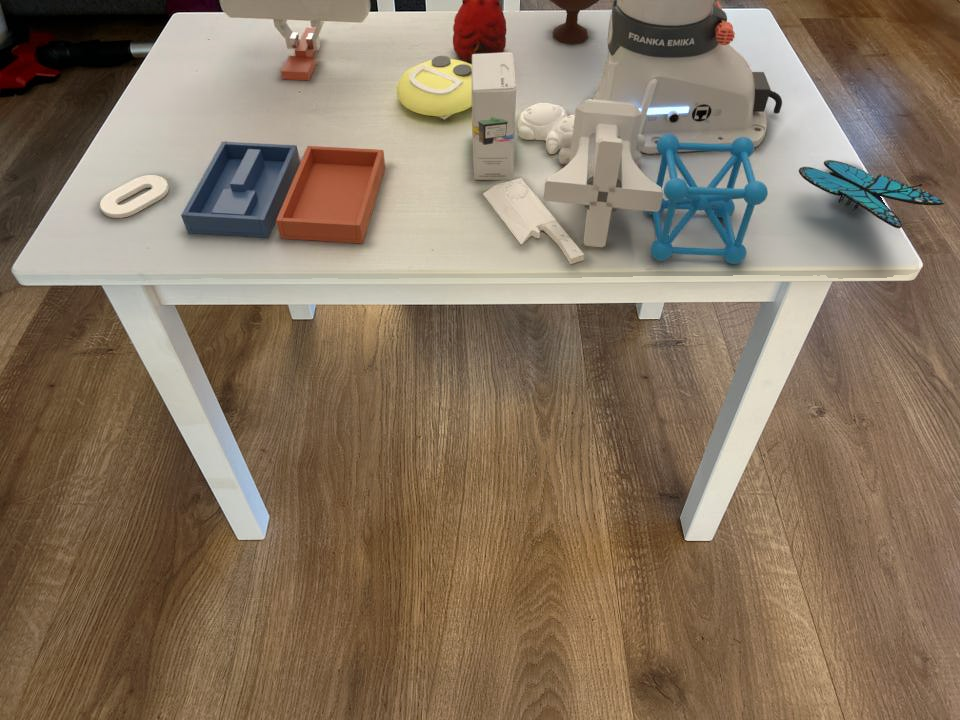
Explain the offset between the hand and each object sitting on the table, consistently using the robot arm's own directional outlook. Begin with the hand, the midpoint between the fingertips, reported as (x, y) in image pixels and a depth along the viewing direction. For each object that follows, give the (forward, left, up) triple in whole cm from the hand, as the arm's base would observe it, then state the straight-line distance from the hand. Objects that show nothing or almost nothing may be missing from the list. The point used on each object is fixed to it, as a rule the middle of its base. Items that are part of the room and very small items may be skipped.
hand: (304, 47), depth 108 cm
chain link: (+10, +36, -1) cm, 37 cm away
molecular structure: (-57, +35, +3) cm, 67 cm away
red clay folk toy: (-25, -3, -2) cm, 25 cm away
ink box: (-29, +23, -2) cm, 37 cm away
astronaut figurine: (-42, +20, -1) cm, 47 cm away
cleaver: (-33, +35, -3) cm, 49 cm away
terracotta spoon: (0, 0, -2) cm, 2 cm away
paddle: (-1, +32, -1) cm, 32 cm away
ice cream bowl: (-38, -11, -2) cm, 39 cm away
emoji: (-21, +9, -2) cm, 23 cm away
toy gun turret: (-41, +38, +6) cm, 56 cm away
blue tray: (-1, +32, -2) cm, 33 cm away
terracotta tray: (-11, +32, -2) cm, 35 cm away
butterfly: (-70, +29, -2) cm, 76 cm away
